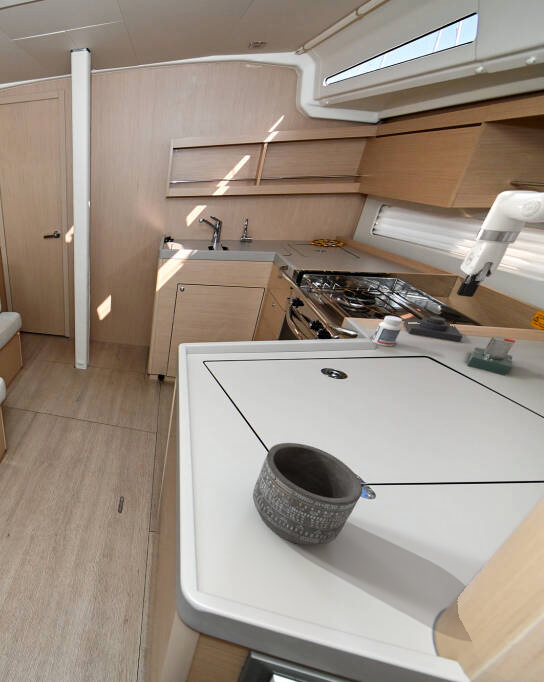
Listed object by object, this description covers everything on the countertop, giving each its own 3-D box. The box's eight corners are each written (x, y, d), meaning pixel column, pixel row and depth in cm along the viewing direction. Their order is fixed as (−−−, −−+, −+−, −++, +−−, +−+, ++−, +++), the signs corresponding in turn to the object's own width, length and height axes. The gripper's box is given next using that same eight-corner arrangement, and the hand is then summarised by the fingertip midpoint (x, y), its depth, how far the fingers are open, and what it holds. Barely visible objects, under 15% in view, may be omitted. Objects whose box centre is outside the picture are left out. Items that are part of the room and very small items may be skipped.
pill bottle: (397, 346, 114) (410, 321, 109) (381, 346, 114) (393, 321, 110) (382, 338, 118) (394, 314, 114) (367, 339, 118) (378, 315, 114)
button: (441, 322, 120) (443, 317, 119) (443, 326, 117) (446, 321, 117) (426, 320, 122) (428, 315, 121) (428, 323, 119) (431, 318, 118)
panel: (467, 355, 107) (473, 345, 106) (509, 365, 102) (516, 356, 100) (463, 365, 103) (469, 355, 101) (508, 376, 97) (514, 366, 95)
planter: (258, 547, 57) (281, 493, 51) (240, 487, 68) (257, 436, 62) (346, 566, 54) (381, 511, 48) (313, 500, 65) (339, 448, 59)
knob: (481, 355, 101) (492, 338, 98) (482, 351, 103) (494, 333, 101) (503, 361, 98) (515, 342, 96) (504, 356, 100) (516, 338, 98)
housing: (451, 331, 122) (457, 320, 120) (459, 342, 114) (465, 331, 113) (403, 323, 128) (408, 313, 126) (408, 333, 121) (413, 323, 119)
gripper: (469, 231, 110) (441, 287, 119) (486, 239, 100) (453, 300, 108) (506, 233, 106) (474, 290, 115) (527, 241, 96) (490, 304, 104)
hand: (464, 295), depth 111 cm, fingers closed
